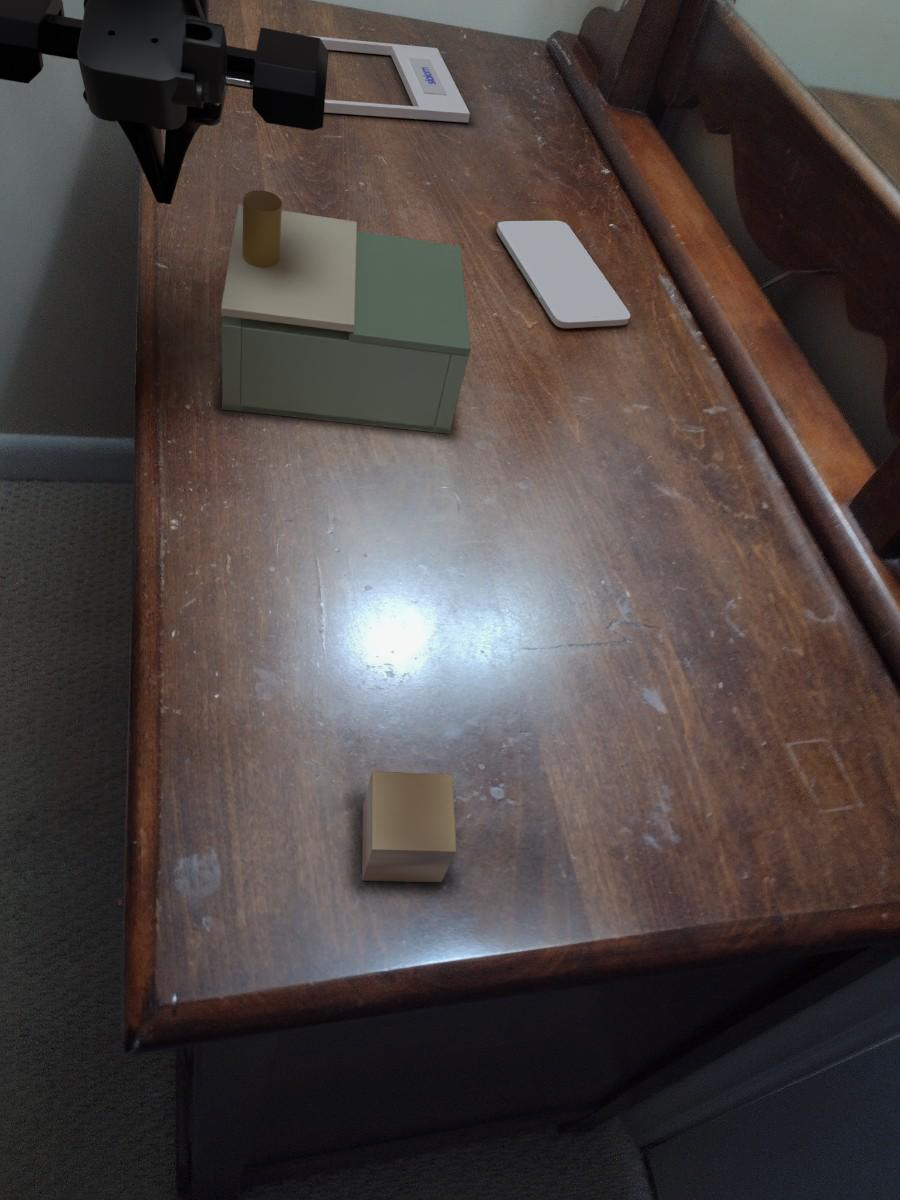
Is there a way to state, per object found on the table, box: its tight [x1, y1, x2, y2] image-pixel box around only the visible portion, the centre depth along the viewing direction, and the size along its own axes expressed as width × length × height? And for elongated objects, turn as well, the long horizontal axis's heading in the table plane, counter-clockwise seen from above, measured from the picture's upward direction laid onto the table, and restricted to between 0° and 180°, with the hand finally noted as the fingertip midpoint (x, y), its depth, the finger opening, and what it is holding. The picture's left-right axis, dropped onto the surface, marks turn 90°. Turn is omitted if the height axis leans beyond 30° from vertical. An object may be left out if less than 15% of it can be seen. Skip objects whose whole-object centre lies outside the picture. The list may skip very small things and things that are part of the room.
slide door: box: [220, 189, 358, 332], centre depth 60 cm, size 8×12×5 cm
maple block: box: [361, 770, 458, 883], centre depth 45 cm, size 4×4×4 cm
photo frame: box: [304, 34, 471, 123], centre depth 97 cm, size 15×1×18 cm
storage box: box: [221, 230, 472, 435], centre depth 66 cm, size 16×12×8 cm
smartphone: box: [496, 220, 631, 329], centre depth 81 cm, size 7×1×15 cm
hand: (165, 200), depth 58 cm, fingers closed
